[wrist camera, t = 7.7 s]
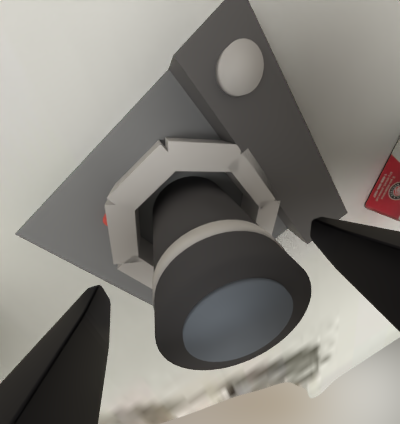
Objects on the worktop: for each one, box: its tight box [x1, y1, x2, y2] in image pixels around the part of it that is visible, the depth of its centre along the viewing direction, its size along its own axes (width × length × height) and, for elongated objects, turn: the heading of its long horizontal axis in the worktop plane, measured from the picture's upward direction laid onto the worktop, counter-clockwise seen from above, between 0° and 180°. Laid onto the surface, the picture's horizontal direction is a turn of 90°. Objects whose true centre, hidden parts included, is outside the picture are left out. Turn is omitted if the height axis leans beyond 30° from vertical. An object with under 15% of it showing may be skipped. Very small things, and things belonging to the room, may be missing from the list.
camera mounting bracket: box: [15, 0, 347, 305], centre depth 11 cm, size 14×12×4 cm
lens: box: [152, 176, 311, 370], centre depth 8 cm, size 5×5×7 cm
